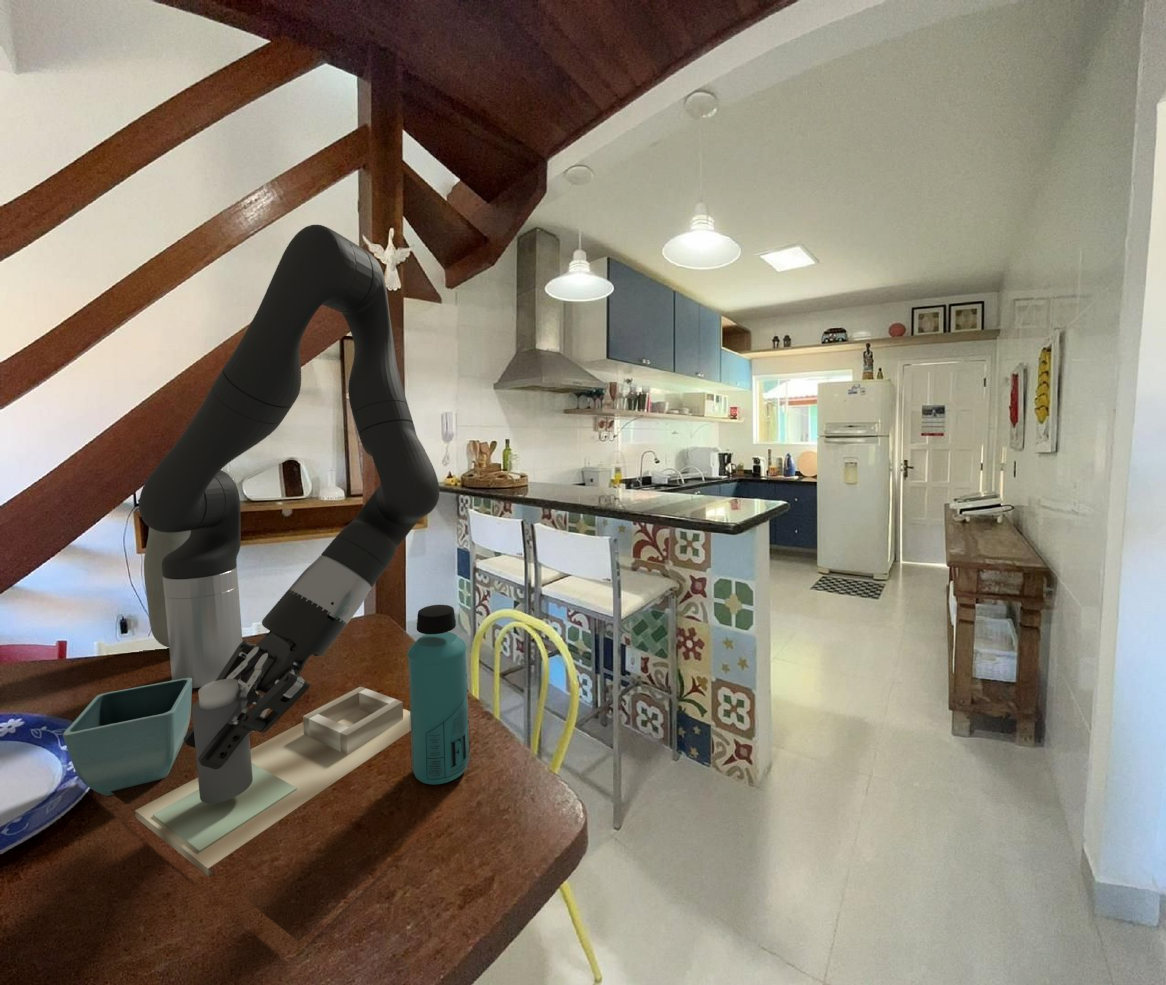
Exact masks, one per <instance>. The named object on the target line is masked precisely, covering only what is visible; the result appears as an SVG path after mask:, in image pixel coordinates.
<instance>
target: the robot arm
mask: <svg viewBox="0 0 1166 985" xmlns="http://www.w3.org/2000/svg"><path fill="white" fill-rule="evenodd" d="M386 284H387V283H386V278H385V276H384V272H383V269H382V267H381V264H380V263H379V261H378V260H377V259H376V258H375V257H374V256H373V254H371V253H370V252H369V251H368V250H366V249H364V248H363V247H361V246H359V245H358V244H356V243H355V242H353V241H351V240H350V239H348V238H347V237H345V236H343V235H341V234H340V233H338V232H337V231H335V230H333V229H332V228H329V227H327V226H325V225H321V224H310V225H308V226H305V227H303V228H302V229H300V230H299V231H298V232H297V233H296V234H295V235H294V236H293V237H292V239H291V240H290V242H289V243H288V244H287V247H285V249H284V251H283V254H282V255H281V258H280V260H279V262H278V264H277V266H276V268H275V271H274V273H273V275H272V277H271V280H270V281H269V284H268V287H267V289H266V291H265V294H264V296H263V298H262V300H261V303H260V305H259V307H258V308H257V311H256V313H255V315H254V316H253V319H252V320H251V322H250V323H249V325H248V327H247V329H246V331H245V333H244V334H243V336H242V338H241V340H240V341H239V343H238V345H237V346H236V348H235V350H234V351H233V352H232V354H231V355H230V357H229V359H228V360H227V361H226V363H225V364H224V366H223V367H222V369H221V371H220V373H219V374H218V376H217V378H216V379H215V381H214V383H213V384H212V386H211V388H210V389H209V392H208V393H207V396H206V397H205V399H204V401H203V402H202V404H201V405H200V407H199V408H198V410H197V412H196V414H195V415H194V416H193V418H192V419H191V421H190V422H189V424H188V426H187V427H186V428H185V430H184V431H183V433H182V435H181V436H180V438H179V439H178V440H177V441H176V443H175V444H174V445H173V447H171V449H170V450H169V452H167V454H166V455H165V456H164V457H163V458H162V460H161V461H160V462H159V463H158V465H157V466H156V467H155V469H154V470H153V471H152V472H151V474H150V475H149V476H148V477H147V479H146V480H145V482H144V484H143V487H142V489H141V491H140V495H139V498H138V511H139V515H140V517H141V519H142V521H143V523H144V524H145V525H146V526H147V527H148V528H149V527H150V528H152V529H154V530H156V531H159V532H167V533H173V532H183V531H190V530H191V533H190V536H189V538H188V539H187V540H186V541H185V543H184V544H182V545H181V546H180V547H179V548H177V549H176V550H174V551H173V552H171V553H169V554H168V555H166V556H165V557H164V559H163V560H162V575H163V586H164V595H165V606H166V617H167V628H168V639H169V649H168V650H169V660H170V661H169V662H170V672H171V681H173V680H178V679H184V678H192V689H197V688H199V689H200V688H201V687H203V686H205V685H206V684H209V683H211V682H214V681H218V680H222V679H235V680H237V681H238V688H239V690H242V692H241V693H240V699H241V702H240V704H239V705H238V707H237V708H236V710H235V712H234V713H233V715H232V716H231V718H230V720H229V724H228V723H226V724H225V726H224V727H223V728H222V729H221V730H220V731H219V732H218V734H217V735H216V736H215V737H214V739H213V740H212V741H211V742H210V744H209V745H208V746H207V747H206V749H205V750H204V751H203V752H202V754H201V755H200V756H199V758H198V761H199V763H200V764H201V765H202V766H205V767H209V768H212V769H219V768H221V767H222V766H223V765H224V763H225V762H226V761H227V760H228V758H229V757H230V756H231V754H232V753H233V752H234V750H235V749H236V748H237V747H238V745H239V744H240V743H241V741H242V740H243V739H244V737H245V736H246V735H247V734H248V733H249V734H251V733H254V732H259V733H261V734H265V733H267V732H268V731H269V730H270V729H271V728H272V727H273V726H274V725H275V724H276V723H277V722H278V720H280V719H281V718H282V716H284V715H285V714H286V713H287V712H288V711H289V710H290V708H292V706H294V704H295V703H296V702H297V701H298V700H299V699H300V698H301V697H303V695H304V694H306V692H307V691H308V690H309V688H310V687H311V682H309V681H308V680H305V679H304V678H303V677H302V675H301V673H302V672H303V670H304V668H305V666H306V663H307V662H308V660H309V659H310V657H311V656H315V657H317V658H320V657H323V656H325V654H326V653H327V651H328V650H329V649H330V648H331V646H332V645H333V644H334V642H335V641H336V640H337V638H338V637H339V636H340V634H341V633H342V632H343V630H344V629H345V628H346V626H347V625H348V624H349V622H350V621H351V619H352V618H353V617H354V615H355V614H356V613H357V611H358V610H359V609H360V607H361V606H362V605H363V603H364V601H365V599H366V597H367V596H368V595H369V593H370V591H371V590H372V588H373V586H374V585H375V584H376V583H377V581H378V580H379V579H380V577H381V575H383V573H384V572H385V571H386V570H387V568H388V566H390V564H391V563H392V560H393V559H394V557H395V554H396V551H397V548H398V547H399V546H400V545H401V543H402V542H403V541H404V540H405V538H406V537H407V536H408V534H409V533H410V532H411V530H413V528H414V527H415V526H416V524H418V523H419V522H420V520H421V519H423V518H424V517H426V516H427V515H429V514H430V513H431V512H433V510H434V509H435V508H436V506H437V504H438V501H439V499H440V486H439V479H438V476H437V474H436V470H435V468H434V465H433V464H432V462H431V460H430V457H429V455H428V453H427V452H426V449H425V448H424V445H423V444H422V443H421V440H420V439H419V437H418V435H417V431H416V427H415V424H414V420H413V417H412V414H411V412H410V408H409V404H408V401H407V397H406V394H405V390H404V387H403V385H402V384H403V383H402V380H401V375H400V371H399V367H398V363H397V361H398V360H397V355H396V349H395V348H396V347H395V344H394V343H395V340H394V334H393V329H392V328H393V326H392V321H391V314H390V307H389V306H390V305H389V298H388V290H387V285H386ZM321 306H324V307H326V308H330V309H331V310H334V311H337V312H340V313H341V314H342V316H343V317H344V320H345V322H346V324H347V325H348V328H349V331H350V334H351V336H352V339H353V340H352V341H353V345H354V346H353V347H354V348H353V349H354V353H353V354H354V356H353V362H352V366H351V370H350V375H349V379H348V388H347V390H348V402H349V406H350V409H351V413H352V417H353V421H354V424H355V427H356V431H357V435H358V437H359V440H360V443H361V445H362V448H363V450H364V451H365V453H366V454H367V455H369V456H370V457H372V461H373V463H374V466H375V470H376V472H377V474H378V477H379V483H380V484H379V486H378V487H377V488H376V489H375V490H374V491H373V493H372V495H371V496H370V497H369V498H368V499H367V501H366V502H365V504H364V505H363V506H362V508H361V509H360V510H359V512H358V513H357V514H356V516H355V517H354V518H353V520H352V521H350V522H349V523H348V524H347V525H346V526H345V527H344V528H342V529H341V531H340V532H339V533H338V534H337V535H336V536H335V537H334V538H333V539H332V541H331V542H330V543H329V545H328V546H326V548H325V549H323V552H321V554H320V555H319V556H318V557H317V558H316V559H315V560H314V561H313V562H311V564H310V565H309V566H307V568H306V569H305V570H303V572H302V573H301V574H300V575H299V576H298V577H297V578H296V580H295V581H294V582H293V583H292V585H291V586H290V587H289V589H287V590H286V592H285V593H284V594H283V595H282V597H281V598H280V599H279V600H278V601H277V602H276V603H275V605H274V606H273V607H272V608H271V609H270V610H269V612H268V613H267V614H266V616H264V617H263V619H262V621H261V625H262V627H264V628H265V629H266V630H268V633H267V634H266V635H265V636H263V638H261V639H260V640H259V641H258V642H257V643H255V644H253V643H251V642H249V641H247V640H243V633H242V632H243V627H242V616H241V615H242V614H241V604H240V590H239V579H238V578H239V577H238V564H237V561H238V560H237V559H238V558H237V557H238V555H239V552H240V549H241V542H242V541H241V539H242V537H241V535H242V534H241V533H242V532H241V526H242V525H241V498H240V494H239V489H238V487H237V484H236V482H235V481H234V479H233V478H232V476H231V475H229V473H227V472H226V471H223V470H222V469H223V468H225V467H226V466H227V465H228V464H229V463H230V462H232V461H233V460H235V459H237V458H238V457H240V456H241V455H242V454H244V453H246V452H247V451H248V450H251V449H252V448H253V447H254V446H256V445H258V444H259V443H261V442H262V441H263V440H265V439H266V438H267V437H268V436H270V435H272V433H273V432H274V431H275V430H276V429H278V427H279V426H280V424H281V423H282V422H283V420H284V419H285V418H286V416H287V414H289V411H290V410H291V409H292V407H293V406H294V404H295V402H296V401H297V398H298V397H299V395H300V393H301V387H302V366H301V353H300V352H301V350H300V349H301V348H300V347H301V343H302V338H303V335H304V334H305V331H306V329H307V328H308V325H309V324H310V322H311V320H312V318H313V317H314V316H315V314H316V313H317V312H318V310H319V309H320V308H321ZM252 704H253V706H252V707H251V705H252ZM250 707H251V708H250ZM249 708H250V709H249ZM270 710H271V712H270V713H268V711H270ZM247 711H248V712H247ZM246 712H247V713H246ZM267 713H268V715H267V716H266V714H267ZM265 716H266V717H265ZM183 743H185V745H186V746H188V747H192V748H194V749H195V738H194V727H193V726H192V727H191V729H190V730H189V731H187V733H186V736H185V737H184V741H183Z"/></svg>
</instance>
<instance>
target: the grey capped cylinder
mask: <svg viewBox="0 0 1166 985" xmlns="http://www.w3.org/2000/svg"><path fill="white" fill-rule="evenodd" d="M197 692H198V693H197V694H198V700H197V701H195V702H194V703H193V704H192V705H191V716H192V724H193V726H192V728H193V727H194V738H195V748H194V749H195V758H196V770H197V778H198V782H199V793H200V799H201V801H202V802H204V803H219V802H223V801H226V800H229V799H232V798H234V797H236V796H238V795H239V794H241V793H242V792H244V791H245V790H246V789H247V788H248V787H249V786H250V785H251V783H252V781H253V777H252V764H251V740H250V732H249V733H248V734H247V735H246V736H245V737H244V739H243V740H242V741H241V743H240V744H239V745H238V747H237V748H236V749H235V750H234V752H233V753H232V754H231V756H230V757H229V758H228V760H227V761H226V762H225V763H224V765H223V766H222V767H221V768H219V769H212V768H209V767H205V766H202V765H201V764H200V763H199V761H198V758H199V756H200V755H201V754H202V752H203V751H204V750H205V749H206V747H207V746H208V745H209V744H210V742H211V741H212V740H213V739H214V737H215V736H216V735H217V734H218V732H219V731H220V730H221V729H222V728H223V727H224V726H225V724H226V723H228V724H229V720H230V718H231V716H232V715H233V713H234V712H235V710H236V708H237V707H238V705H239V704H240V702H241V699H240V693H241V692H242V690H239V688H238V681H237V680H235V679H222V680H218V681H214V682H211V683H209V684H206V685H205V686H203V687H199V689H198V690H197ZM248 711H249V710H247V712H248ZM247 712H246V713H247Z"/></svg>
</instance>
